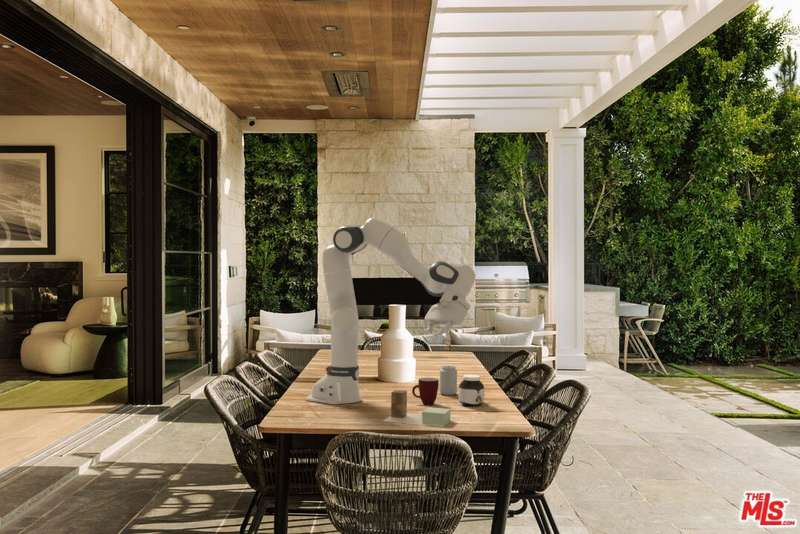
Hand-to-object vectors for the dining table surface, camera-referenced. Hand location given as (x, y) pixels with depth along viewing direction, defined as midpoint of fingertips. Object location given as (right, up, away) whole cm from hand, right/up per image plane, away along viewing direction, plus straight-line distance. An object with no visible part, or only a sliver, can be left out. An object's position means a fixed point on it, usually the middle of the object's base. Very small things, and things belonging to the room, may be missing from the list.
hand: (436, 332), depth 260 cm
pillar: (-14, -29, -12) cm, 35 cm away
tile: (-7, -30, -17) cm, 35 cm away
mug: (-4, -30, +15) cm, 34 cm away
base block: (-1, -29, -20) cm, 36 cm away
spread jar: (+15, -31, +17) cm, 38 cm away
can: (+7, -30, +36) cm, 48 cm away
